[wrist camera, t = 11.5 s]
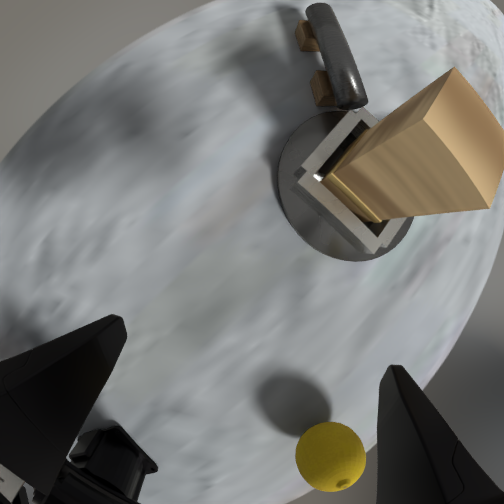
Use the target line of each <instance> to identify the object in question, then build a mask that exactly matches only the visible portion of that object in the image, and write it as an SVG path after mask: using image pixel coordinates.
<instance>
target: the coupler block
mask: <svg viewBox="0 0 504 504" xmlns="http://www.w3.org/2000/svg"><path fill="white" fill-rule="evenodd" d="M503 170H504V130H503V129H502V127H501V126H500V124H499V123H498V121H497V120H496V118H495V117H494V115H493V114H492V112H491V111H490V110H489V108H488V107H487V106H486V104H485V103H484V102H483V100H482V99H481V98H480V96H479V95H478V94H477V92H476V91H475V90H474V89H473V87H472V86H471V85H470V84H469V83H468V81H467V80H466V79H465V78H464V77H463V76H462V74H461V73H460V72H459V71H458V70H457V69H456V68H455V67H453V68H452V69H450V70H449V71H448V72H446V73H445V74H443V75H442V76H441V77H439V78H438V79H436V80H435V81H434V82H432V83H431V84H430V85H428V86H427V87H425V88H424V89H423V90H421V91H420V92H419V93H417V94H416V95H414V96H413V97H412V98H410V99H409V100H408V101H406V102H405V103H404V104H402V105H401V106H400V107H398V108H397V109H396V110H394V111H393V112H392V113H390V114H389V115H388V116H386V117H385V118H384V119H382V120H381V121H380V122H378V123H377V124H376V125H374V126H373V127H372V128H370V129H369V130H368V129H366V130H365V131H364V132H362V133H361V134H360V136H359V137H358V138H357V139H356V140H355V141H353V142H352V143H351V144H350V145H349V146H348V148H347V149H346V150H345V151H344V153H343V154H342V155H341V156H340V157H339V159H338V160H337V161H336V162H335V164H334V165H333V166H332V167H331V168H330V170H329V171H328V172H327V173H326V175H325V176H324V177H323V178H322V179H321V181H320V183H321V184H322V185H324V186H325V187H326V188H327V189H328V190H329V191H330V192H331V193H332V194H333V195H334V196H335V197H336V198H338V199H339V200H340V201H341V202H342V203H343V204H344V205H345V206H346V207H347V208H348V209H349V210H350V211H351V212H352V213H353V214H354V215H355V216H356V217H357V218H358V219H359V220H360V221H361V222H369V221H372V222H373V223H378V222H381V221H382V220H386V219H395V218H404V217H413V216H422V215H431V214H441V213H450V212H460V211H470V210H480V209H490V207H491V204H492V202H493V199H494V196H495V194H496V191H497V188H498V185H499V182H500V179H501V176H502V173H503Z"/></svg>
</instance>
